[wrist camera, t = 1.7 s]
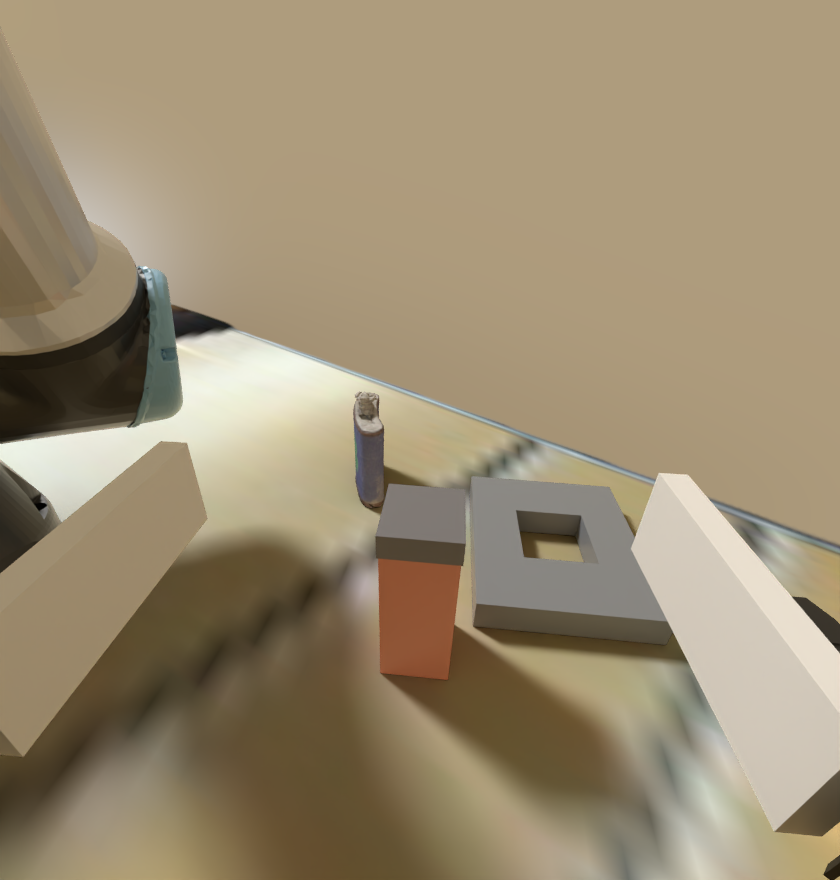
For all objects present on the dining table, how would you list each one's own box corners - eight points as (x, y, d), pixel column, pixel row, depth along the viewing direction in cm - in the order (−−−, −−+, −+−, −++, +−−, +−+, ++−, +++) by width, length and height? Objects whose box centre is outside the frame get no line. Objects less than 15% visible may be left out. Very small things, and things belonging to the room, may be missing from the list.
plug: (378, 674, 28) (375, 536, 22) (389, 614, 32) (388, 483, 26) (449, 681, 28) (465, 543, 22) (450, 620, 32) (465, 489, 26)
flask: (385, 508, 43) (384, 413, 38) (356, 510, 43) (351, 414, 38) (379, 459, 51) (377, 375, 46) (354, 460, 51) (350, 376, 46)
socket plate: (472, 626, 32) (476, 603, 31) (469, 495, 46) (471, 476, 44) (666, 644, 31) (677, 622, 30) (603, 506, 45) (609, 486, 44)
